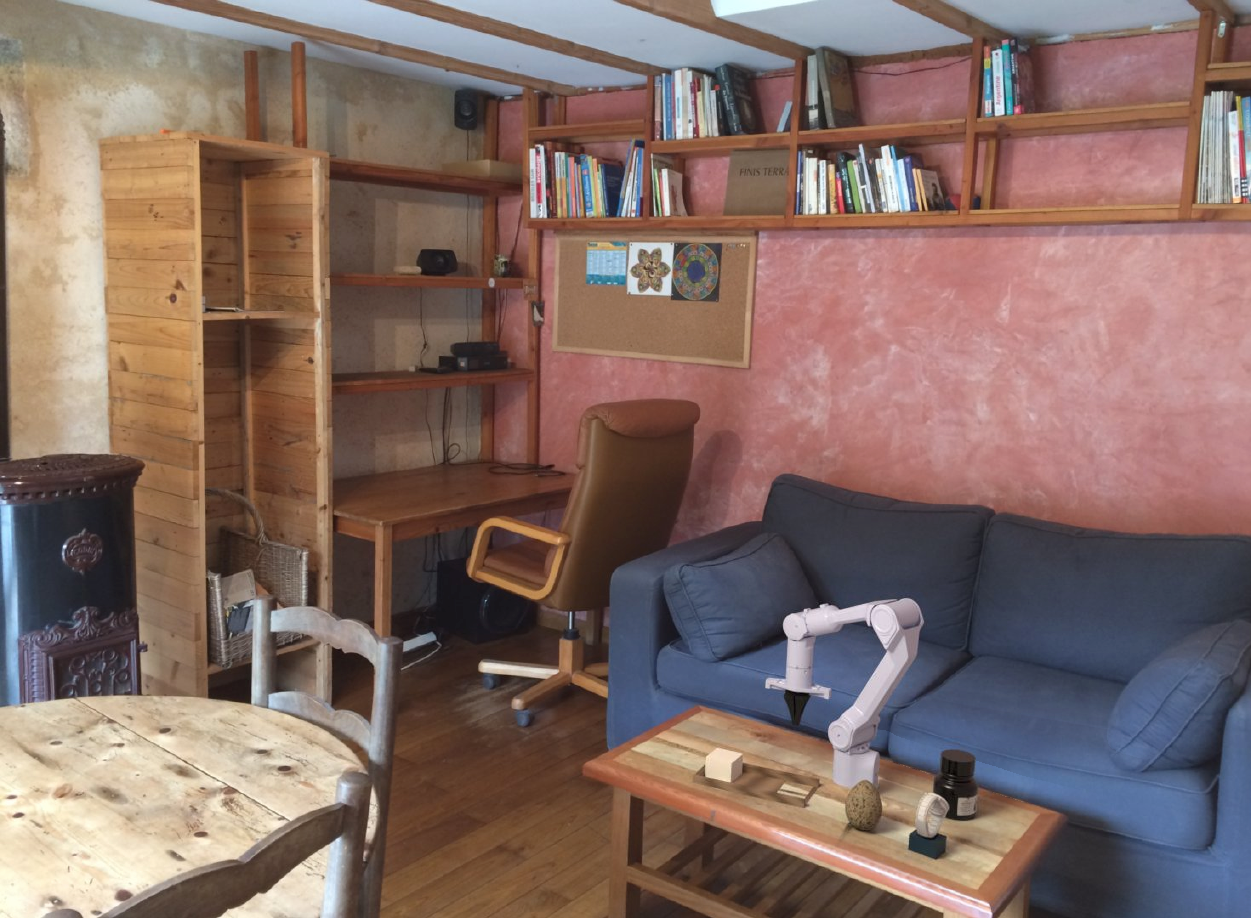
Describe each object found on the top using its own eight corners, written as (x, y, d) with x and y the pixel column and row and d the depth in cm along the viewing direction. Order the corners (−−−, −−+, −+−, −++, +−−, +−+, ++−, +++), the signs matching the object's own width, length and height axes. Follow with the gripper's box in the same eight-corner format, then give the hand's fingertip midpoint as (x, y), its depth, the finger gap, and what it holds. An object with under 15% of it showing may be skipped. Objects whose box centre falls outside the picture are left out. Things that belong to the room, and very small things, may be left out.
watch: (950, 848, 210) (954, 793, 209) (931, 862, 204) (935, 806, 203) (922, 838, 214) (926, 784, 212) (903, 852, 208) (907, 796, 206)
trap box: (818, 792, 233) (819, 778, 233) (803, 814, 222) (803, 800, 222) (712, 769, 243) (712, 756, 242) (692, 789, 232) (692, 776, 232)
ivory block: (742, 773, 237) (743, 753, 237) (730, 783, 232) (731, 762, 232) (716, 767, 240) (717, 747, 240) (704, 776, 235) (705, 756, 235)
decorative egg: (888, 829, 217) (891, 781, 216) (866, 840, 212) (869, 790, 211) (858, 816, 222) (861, 769, 221) (836, 826, 217) (839, 778, 216)
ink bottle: (969, 825, 220) (974, 768, 218) (925, 814, 224) (929, 758, 223) (981, 808, 228) (986, 753, 227) (938, 797, 233) (943, 743, 231)
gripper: (836, 665, 245) (832, 723, 247) (773, 654, 251) (770, 712, 253) (827, 674, 239) (824, 734, 240) (763, 663, 245) (760, 721, 247)
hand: (796, 723), depth 246 cm, fingers closed
